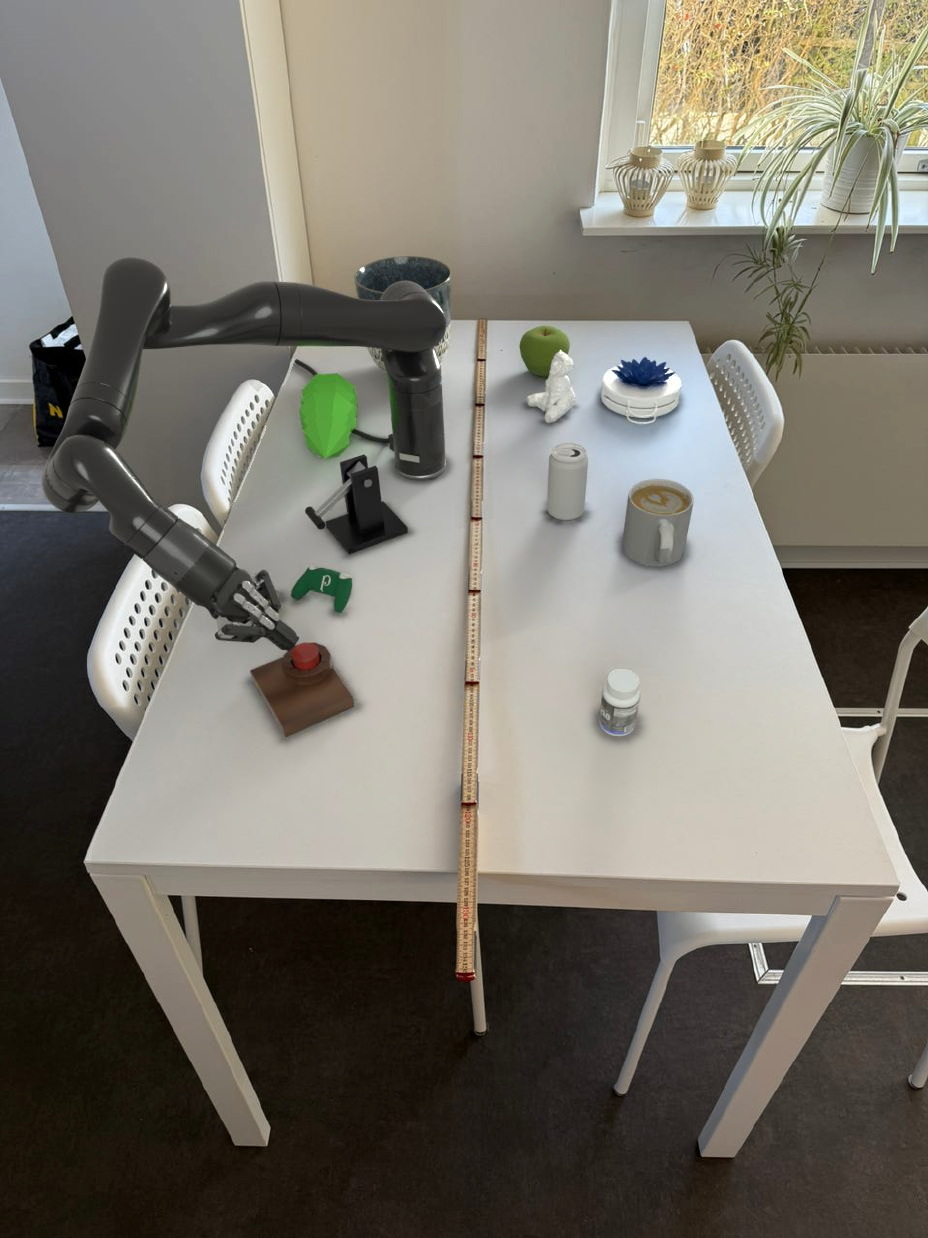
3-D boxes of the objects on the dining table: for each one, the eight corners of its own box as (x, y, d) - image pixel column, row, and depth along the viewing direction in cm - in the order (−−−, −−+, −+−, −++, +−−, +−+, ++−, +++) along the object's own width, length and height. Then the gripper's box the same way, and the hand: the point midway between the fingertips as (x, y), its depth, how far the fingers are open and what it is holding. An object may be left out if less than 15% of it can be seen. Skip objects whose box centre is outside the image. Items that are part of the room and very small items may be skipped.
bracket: (348, 554, 140) (339, 489, 132) (326, 527, 146) (315, 462, 137) (408, 532, 144) (402, 467, 136) (383, 506, 150) (376, 442, 141)
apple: (521, 360, 190) (522, 316, 183) (569, 362, 188) (571, 318, 182) (516, 383, 182) (517, 338, 175) (566, 386, 180) (569, 340, 174)
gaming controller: (350, 615, 132) (361, 578, 132) (339, 613, 128) (350, 574, 128) (299, 600, 135) (310, 563, 135) (287, 597, 131) (298, 559, 131)
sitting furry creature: (524, 404, 175) (525, 348, 167) (560, 393, 178) (563, 338, 170) (548, 424, 169) (551, 367, 161) (585, 413, 172) (589, 357, 164)
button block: (252, 681, 120) (247, 660, 117) (320, 653, 124) (316, 633, 121) (285, 737, 112) (280, 717, 110) (356, 706, 116) (352, 686, 113)
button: (289, 658, 118) (287, 649, 117) (313, 648, 119) (311, 639, 118) (299, 674, 116) (297, 665, 114) (324, 664, 117) (322, 654, 116)
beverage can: (582, 524, 145) (587, 463, 136) (544, 521, 146) (546, 460, 138) (585, 503, 149) (590, 442, 141) (548, 499, 150) (551, 439, 142)
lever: (322, 532, 137) (313, 524, 136) (310, 517, 141) (301, 509, 139) (377, 480, 137) (369, 471, 135) (363, 465, 140) (355, 457, 138)
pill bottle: (595, 711, 114) (600, 667, 108) (630, 708, 114) (637, 664, 109) (602, 739, 111) (608, 695, 105) (638, 736, 111) (646, 692, 105)
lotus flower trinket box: (604, 348, 177) (602, 395, 163) (681, 351, 176) (685, 399, 161) (602, 379, 182) (599, 427, 168) (676, 382, 180) (680, 431, 166)
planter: (454, 394, 179) (450, 292, 165) (361, 395, 180) (349, 294, 165) (455, 351, 193) (452, 254, 179) (369, 353, 194) (359, 256, 179)
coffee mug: (623, 526, 144) (630, 475, 137) (684, 532, 142) (693, 481, 136) (618, 577, 134) (625, 525, 128) (683, 584, 133) (693, 532, 126)
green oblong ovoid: (341, 347, 169) (336, 419, 146) (369, 396, 176) (368, 472, 153) (291, 372, 171) (278, 446, 148) (321, 419, 178) (313, 497, 155)
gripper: (178, 581, 103) (290, 668, 109) (227, 517, 112) (327, 601, 118) (150, 607, 108) (259, 690, 113) (199, 544, 117) (297, 623, 123)
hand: (293, 644), depth 116 cm, fingers closed
